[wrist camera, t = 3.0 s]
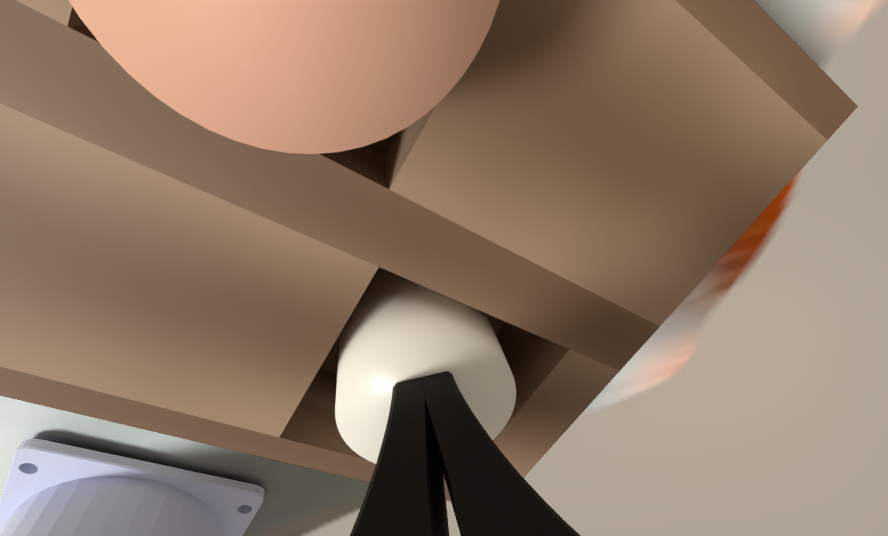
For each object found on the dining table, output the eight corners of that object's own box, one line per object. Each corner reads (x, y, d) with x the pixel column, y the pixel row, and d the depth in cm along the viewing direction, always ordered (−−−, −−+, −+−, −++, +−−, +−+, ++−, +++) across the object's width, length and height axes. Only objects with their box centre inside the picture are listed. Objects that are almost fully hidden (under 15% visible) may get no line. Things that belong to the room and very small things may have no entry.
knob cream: (438, 396, 16) (457, 485, 13) (315, 355, 14) (304, 446, 11) (510, 297, 14) (550, 371, 11) (382, 238, 12) (390, 307, 9)
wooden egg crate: (467, 415, 18) (493, 511, 14) (6, 266, 12) (-133, 363, 9) (725, 82, 13) (857, 106, 10) (163, -409, 7) (-7, -777, 4)
